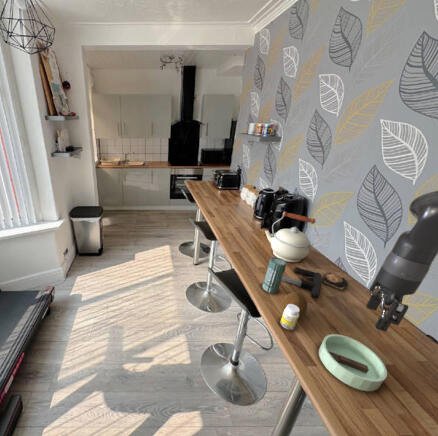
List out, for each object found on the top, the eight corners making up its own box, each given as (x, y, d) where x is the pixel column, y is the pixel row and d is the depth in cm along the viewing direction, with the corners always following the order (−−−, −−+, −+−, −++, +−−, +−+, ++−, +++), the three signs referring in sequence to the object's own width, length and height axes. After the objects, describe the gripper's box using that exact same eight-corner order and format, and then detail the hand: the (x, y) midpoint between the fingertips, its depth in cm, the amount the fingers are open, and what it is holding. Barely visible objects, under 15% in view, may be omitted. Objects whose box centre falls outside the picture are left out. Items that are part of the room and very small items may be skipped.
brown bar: (364, 367, 73) (367, 364, 72) (367, 374, 71) (369, 371, 70) (326, 352, 77) (328, 349, 77) (327, 359, 75) (329, 355, 75)
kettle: (311, 256, 133) (326, 216, 123) (305, 270, 120) (321, 226, 110) (265, 241, 148) (275, 204, 138) (255, 252, 135) (266, 212, 125)
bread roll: (343, 291, 106) (346, 285, 105) (321, 282, 112) (324, 276, 110) (347, 281, 113) (350, 275, 112) (326, 273, 119) (329, 267, 117)
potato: (282, 318, 91) (288, 303, 88) (280, 298, 101) (285, 283, 98) (306, 326, 88) (313, 310, 85) (302, 304, 98) (308, 289, 95)
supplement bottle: (290, 320, 90) (296, 303, 87) (297, 330, 86) (304, 313, 82) (277, 319, 90) (283, 302, 87) (283, 329, 86) (290, 312, 82)
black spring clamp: (280, 281, 107) (323, 296, 98) (287, 262, 122) (325, 273, 113) (278, 287, 108) (321, 302, 99) (285, 268, 123) (323, 279, 114)
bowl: (371, 357, 77) (377, 347, 75) (388, 402, 65) (395, 392, 63) (316, 336, 84) (320, 327, 82) (321, 373, 71) (326, 364, 69)
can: (280, 291, 105) (289, 263, 99) (271, 295, 103) (280, 266, 96) (268, 282, 110) (276, 255, 104) (259, 286, 107) (267, 258, 101)
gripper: (437, 292, 52) (402, 343, 59) (410, 261, 64) (384, 307, 70) (393, 281, 55) (364, 330, 62) (374, 253, 67) (352, 297, 73)
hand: (375, 318), depth 66 cm, fingers open, 8 cm apart
